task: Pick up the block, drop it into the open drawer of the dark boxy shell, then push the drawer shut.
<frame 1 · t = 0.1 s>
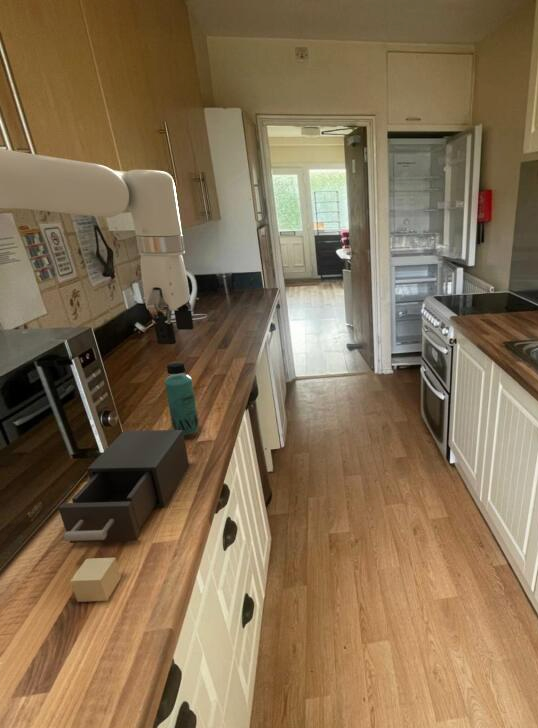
hand: (176, 336, 84), 32 cm above the table, tool pointing down, fingers open, 9 cm apart
beverage bottle: (187, 435, 113), on the table
block: (100, 589, 68), on the table
dark boxy shell: (147, 485, 92), on the table
drawer: (112, 507, 78), point 5 cm above the table, slide at 9.0 cm
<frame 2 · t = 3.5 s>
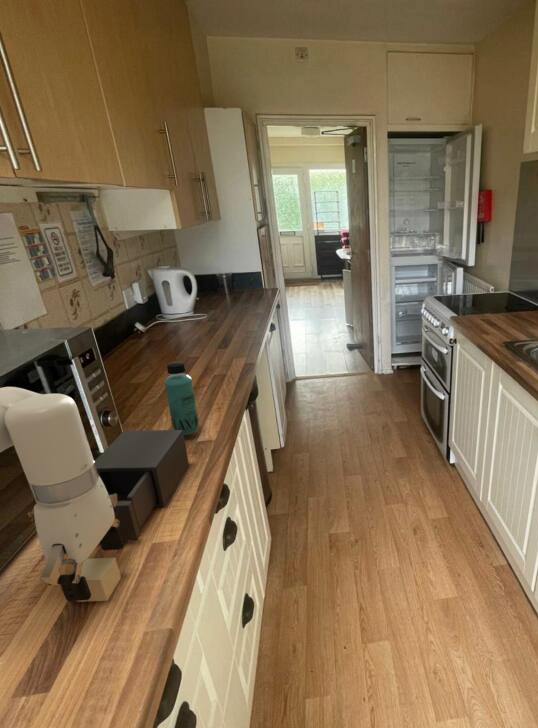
hand: (97, 572, 66), 4 cm above the table, tool pointing down, fingers open, 9 cm apart
nothing on the table moved.
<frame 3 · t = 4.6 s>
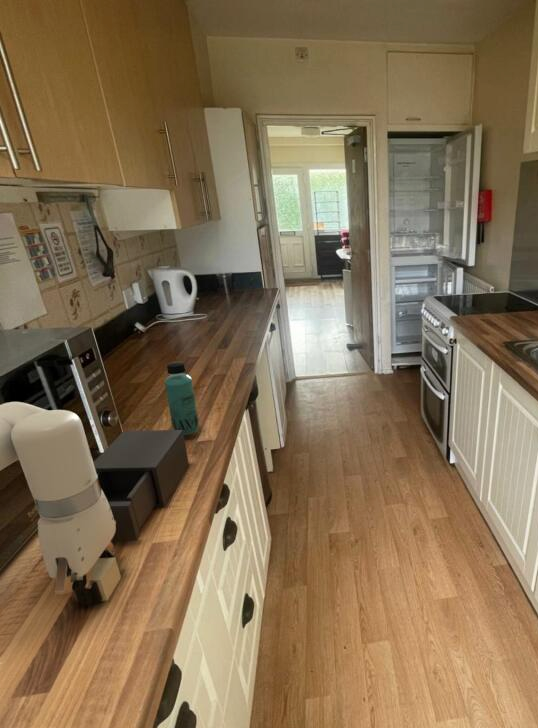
hand: (99, 587, 68), 0 cm above the table, tool pointing down, fingers closed on block, 4 cm apart
block: (100, 589, 68), on the table, touching gripper
everything else where it was.
when the fingers open (7 cm above the table, at t = 10.1 s): block drops 5 cm, resting on drawer.
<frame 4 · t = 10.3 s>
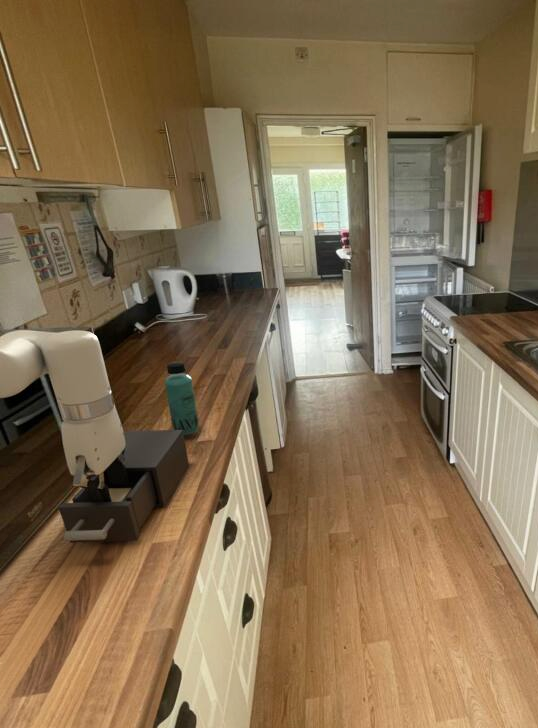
hand: (111, 492, 78), 7 cm above the table, tool pointing down, fingers open, 5 cm apart
block: (118, 514, 81), point 2 cm above the table, touching drawer
drawer: (112, 507, 79), point 5 cm above the table, slide at 8.9 cm, touching block
everything else where it was.
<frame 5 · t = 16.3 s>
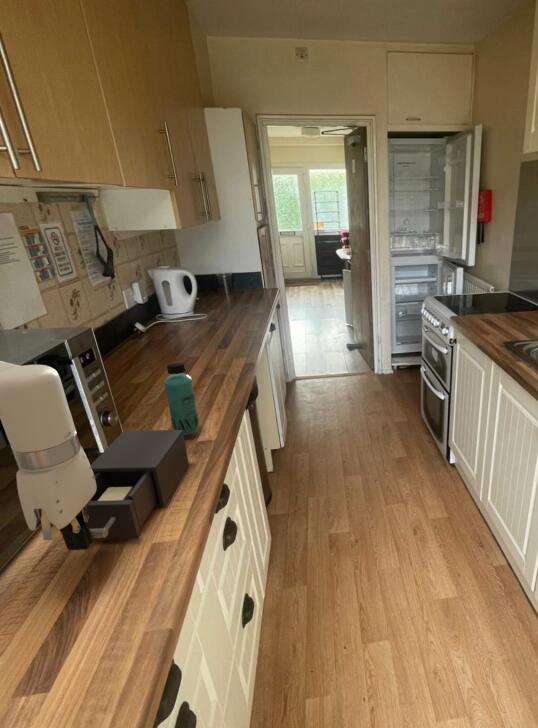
hand: (80, 545, 69), 5 cm above the table, tool pointing down, fingers closed
drawer: (113, 505, 79), point 5 cm above the table, slide at 8.5 cm, touching block, gripper
everything else where it was.
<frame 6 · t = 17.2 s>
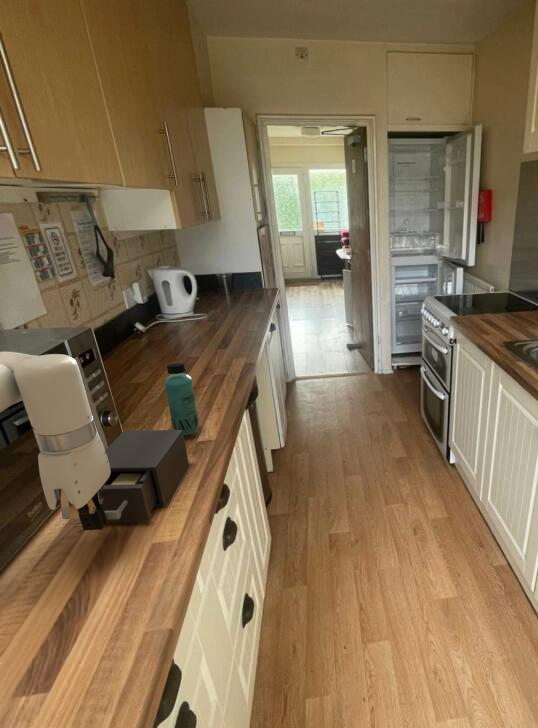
hand: (96, 526, 73), 5 cm above the table, tool pointing down, fingers closed
block: (131, 497, 85), point 2 cm above the table, touching drawer
drawer: (125, 490, 83), point 5 cm above the table, slide at 4.0 cm, touching block, gripper
everything else where it was.
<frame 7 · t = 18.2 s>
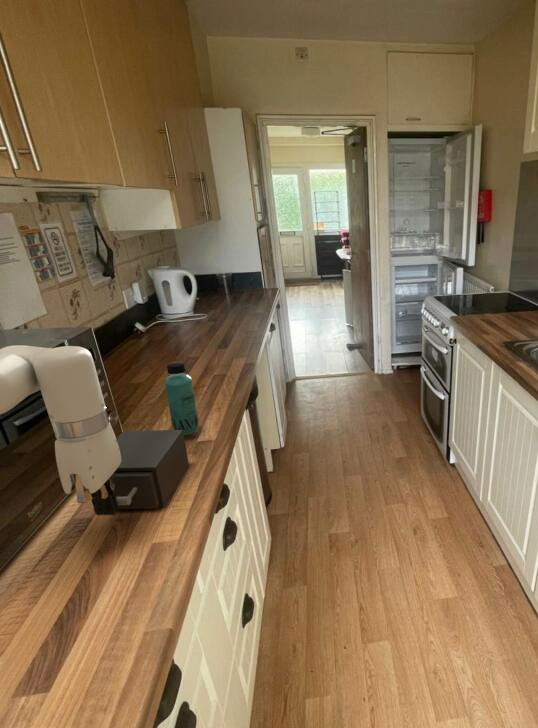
hand: (107, 511, 77), 5 cm above the table, tool pointing down, fingers closed
block: (139, 486, 89), point 2 cm above the table, touching drawer
drawer: (134, 478, 87), point 5 cm above the table, slide at 0.2 cm, touching block, gripper
everything else where it was.
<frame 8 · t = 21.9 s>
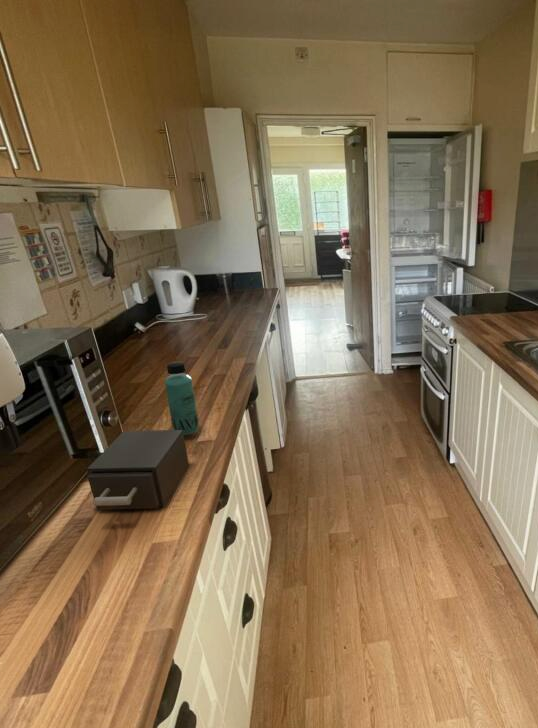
hand: (7, 448, 65), 22 cm above the table, tool pointing down, fingers closed
drawer: (134, 478, 87), point 5 cm above the table, slide at 0.2 cm, touching block
everything else where it was.
at the end: block inside the target area in the dark boxy shell (2.8 cm from its centre), point 2.0 cm above the dark boxy shell's base; drawer slide at 0.2 cm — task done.
